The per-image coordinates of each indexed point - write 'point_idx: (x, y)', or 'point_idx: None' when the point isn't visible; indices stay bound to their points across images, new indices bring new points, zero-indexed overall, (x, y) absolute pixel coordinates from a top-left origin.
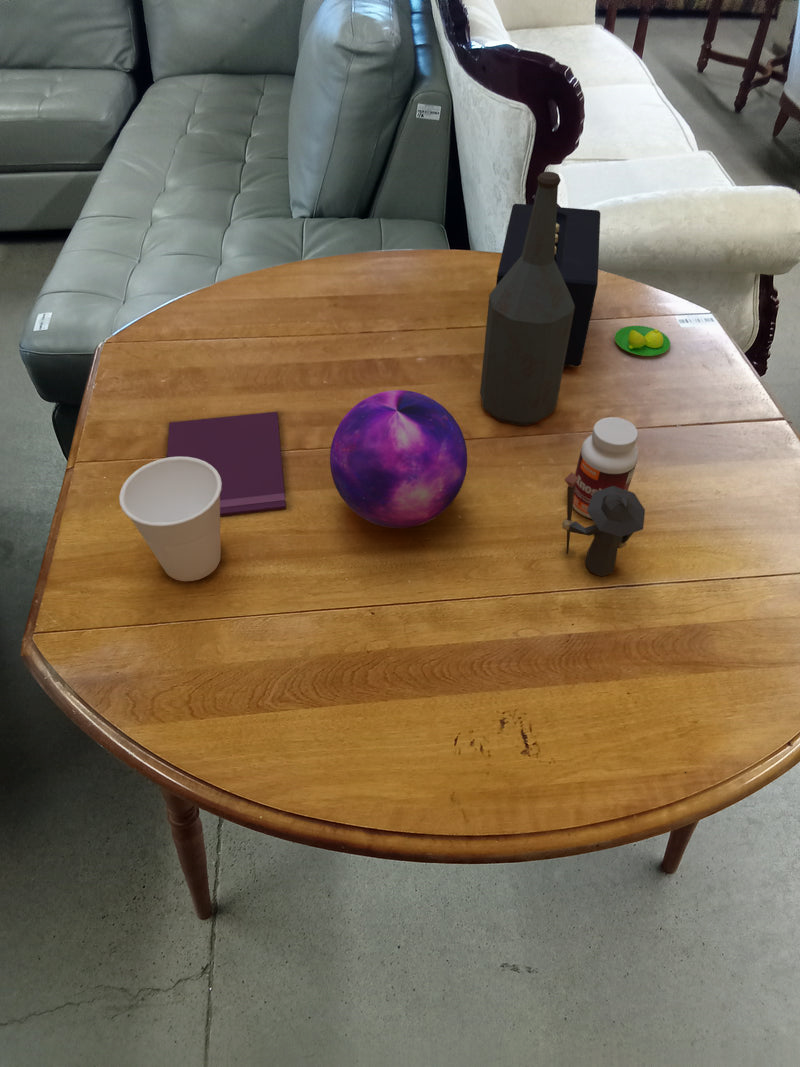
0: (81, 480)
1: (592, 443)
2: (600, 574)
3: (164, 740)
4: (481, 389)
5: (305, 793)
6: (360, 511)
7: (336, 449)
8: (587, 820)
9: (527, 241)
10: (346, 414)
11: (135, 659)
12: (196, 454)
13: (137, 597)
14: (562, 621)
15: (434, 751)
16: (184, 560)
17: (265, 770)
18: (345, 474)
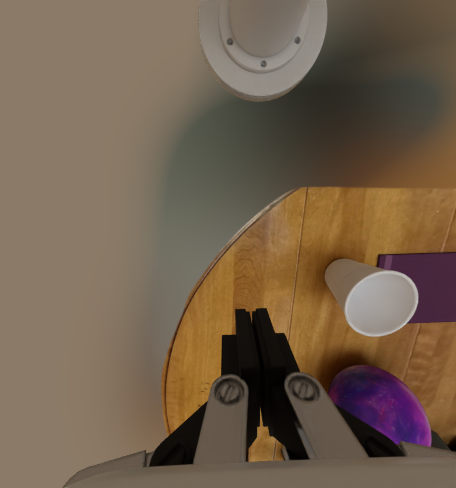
0: (440, 194)
1: None
2: (281, 450)
3: (224, 266)
4: (431, 435)
5: (189, 326)
6: (341, 381)
7: (387, 400)
8: (169, 418)
9: None
10: (418, 415)
11: (276, 247)
12: (437, 272)
13: (320, 244)
14: (260, 430)
15: (203, 375)
16: (331, 285)
17: (202, 311)
18: (364, 397)
